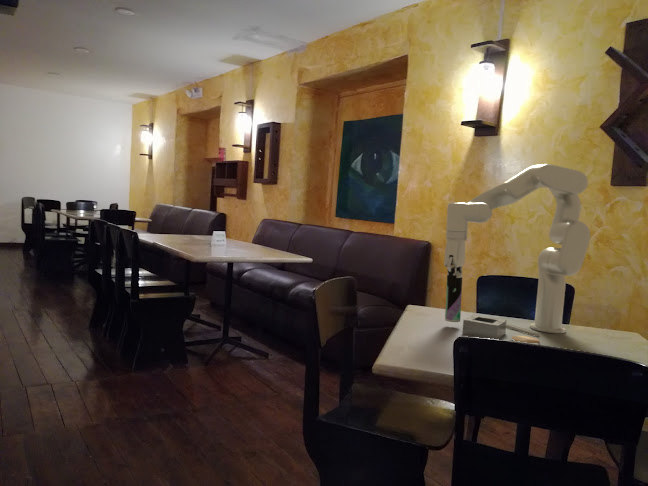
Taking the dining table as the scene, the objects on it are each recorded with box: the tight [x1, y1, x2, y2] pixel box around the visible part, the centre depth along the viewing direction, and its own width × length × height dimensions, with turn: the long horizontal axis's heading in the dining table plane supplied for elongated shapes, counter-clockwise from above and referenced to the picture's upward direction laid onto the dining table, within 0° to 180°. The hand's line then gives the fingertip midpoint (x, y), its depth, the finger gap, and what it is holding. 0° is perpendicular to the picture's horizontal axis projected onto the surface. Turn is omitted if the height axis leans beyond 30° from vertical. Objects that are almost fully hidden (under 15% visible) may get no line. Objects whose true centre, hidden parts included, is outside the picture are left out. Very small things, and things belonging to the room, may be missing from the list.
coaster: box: [511, 335, 541, 344], centre depth 173 cm, size 9×9×1 cm
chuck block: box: [462, 314, 508, 340], centre depth 180 cm, size 12×12×5 cm
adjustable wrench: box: [506, 322, 540, 337], centre depth 192 cm, size 25×6×2 cm, turn 25°
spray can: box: [444, 269, 463, 323], centre depth 187 cm, size 6×6×20 cm
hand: (454, 284), depth 186 cm, fingers closed on spray can, 5 cm apart
